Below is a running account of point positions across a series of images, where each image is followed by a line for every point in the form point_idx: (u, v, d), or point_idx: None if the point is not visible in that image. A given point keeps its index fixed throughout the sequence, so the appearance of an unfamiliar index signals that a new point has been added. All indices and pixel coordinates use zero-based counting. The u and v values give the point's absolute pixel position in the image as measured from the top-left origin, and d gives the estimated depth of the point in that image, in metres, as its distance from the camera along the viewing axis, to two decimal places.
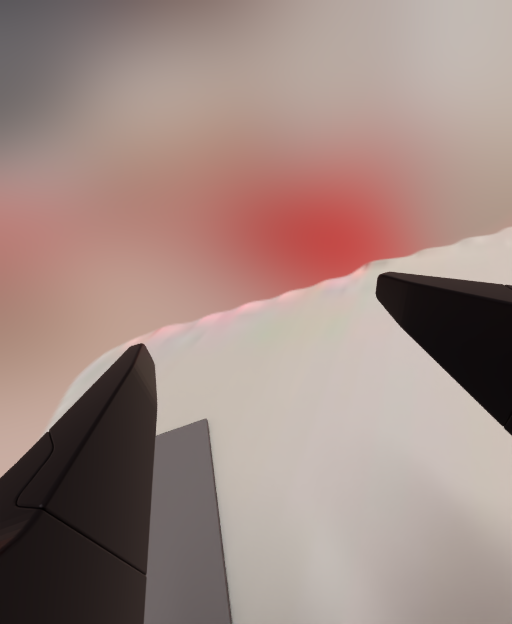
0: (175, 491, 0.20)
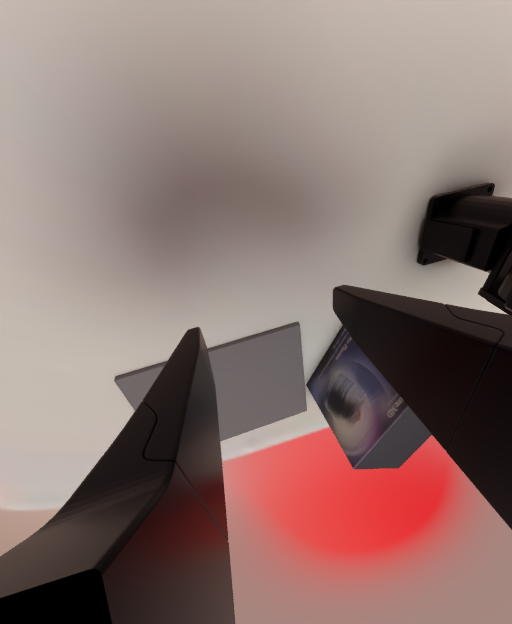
0: None
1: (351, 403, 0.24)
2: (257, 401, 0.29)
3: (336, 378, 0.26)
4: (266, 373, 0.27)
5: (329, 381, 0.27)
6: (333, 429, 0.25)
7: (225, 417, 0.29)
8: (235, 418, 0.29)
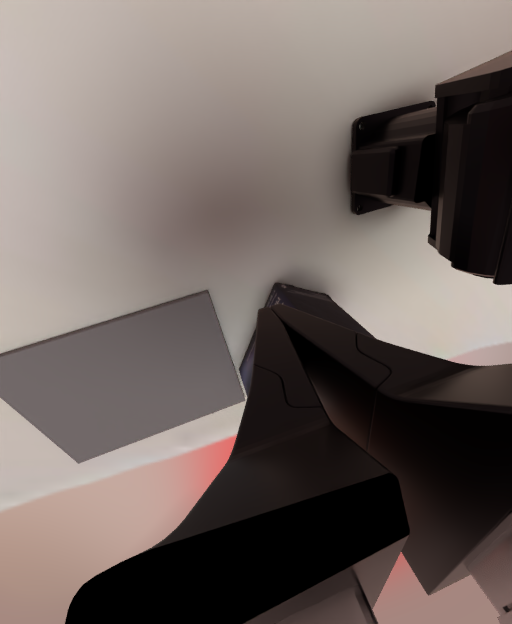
0: (71, 370, 0.20)
1: None
2: (176, 390, 0.24)
3: None
4: (180, 356, 0.23)
5: None
6: None
7: (139, 411, 0.24)
8: (153, 411, 0.25)
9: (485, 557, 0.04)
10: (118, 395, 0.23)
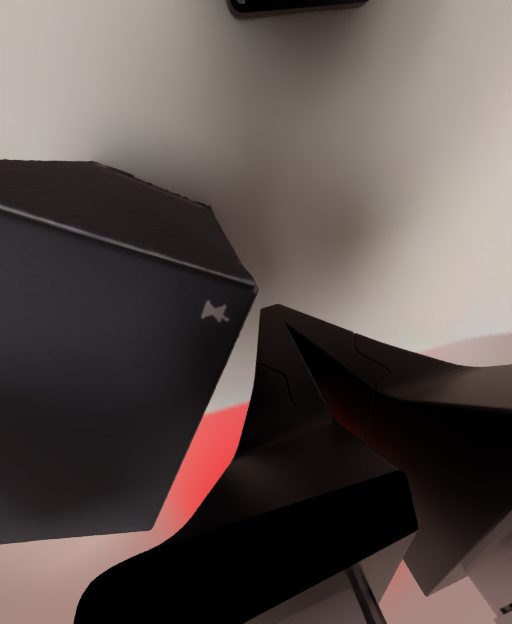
0: None
1: None
2: None
3: None
4: None
5: None
6: None
7: None
8: None
9: (482, 559, 0.04)
10: None
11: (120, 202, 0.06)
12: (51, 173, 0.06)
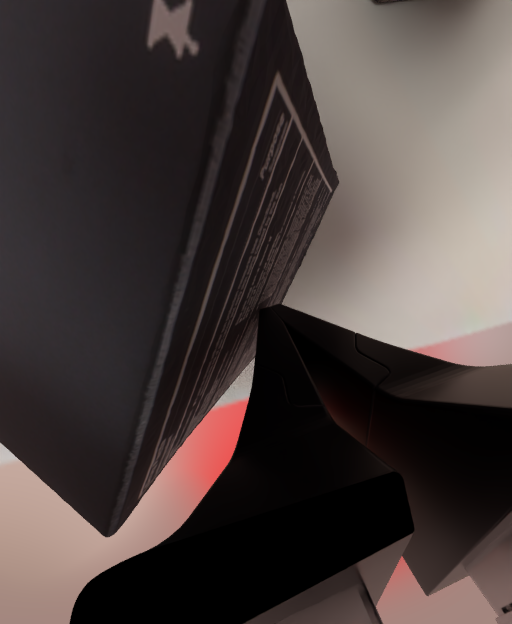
0: None
1: None
2: None
3: None
4: None
5: None
6: None
7: None
8: None
9: (484, 558, 0.04)
10: None
11: None
12: None
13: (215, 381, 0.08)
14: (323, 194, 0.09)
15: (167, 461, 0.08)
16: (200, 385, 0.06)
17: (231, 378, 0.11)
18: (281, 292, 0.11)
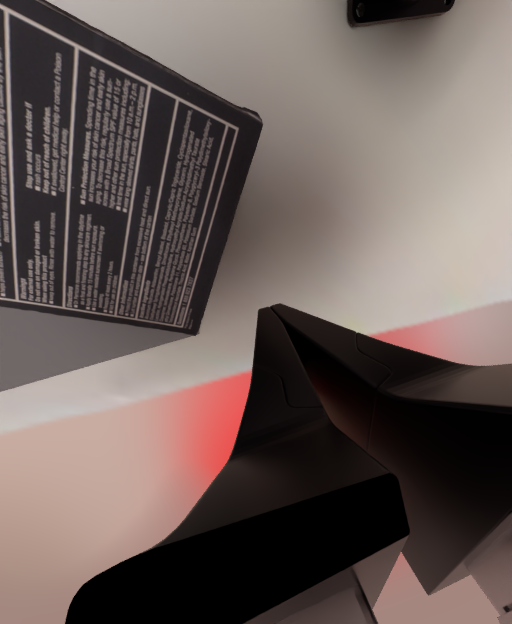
0: None
1: None
2: None
3: None
4: None
5: None
6: None
7: (41, 329, 0.17)
8: (64, 333, 0.18)
9: (485, 557, 0.04)
10: None
11: None
12: None
13: (37, 252, 0.10)
14: (196, 120, 0.09)
15: None
16: None
17: (108, 303, 0.11)
18: (178, 237, 0.11)
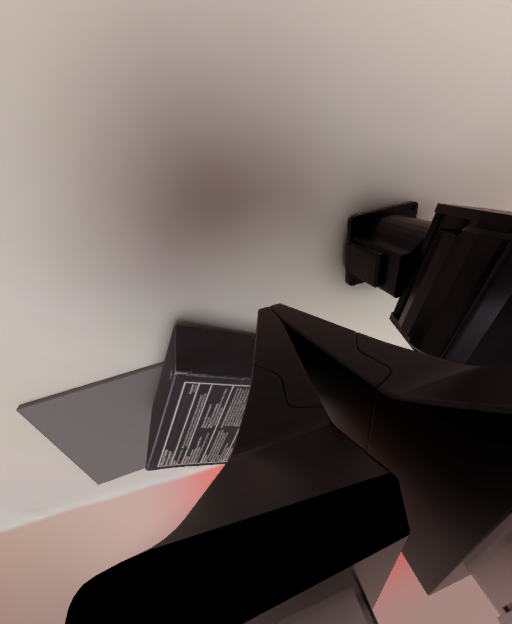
0: (101, 410, 0.24)
1: None
2: None
3: None
4: None
5: None
6: None
7: None
8: None
9: (485, 557, 0.04)
10: (138, 429, 0.26)
11: (211, 347, 0.20)
12: (216, 336, 0.21)
13: (197, 446, 0.20)
14: None
15: (173, 465, 0.20)
16: (183, 440, 0.19)
17: (221, 457, 0.22)
18: None
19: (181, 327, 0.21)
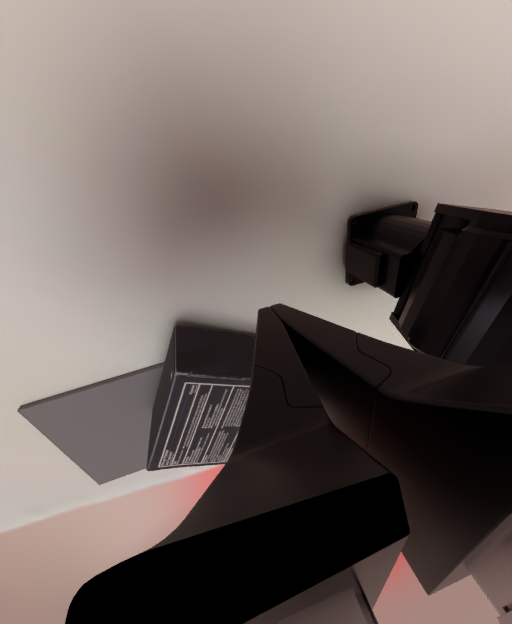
0: (102, 411, 0.24)
1: None
2: None
3: None
4: None
5: None
6: None
7: None
8: None
9: (485, 557, 0.04)
10: (139, 429, 0.26)
11: (212, 347, 0.20)
12: (216, 336, 0.21)
13: (197, 447, 0.20)
14: None
15: (173, 466, 0.21)
16: (184, 441, 0.19)
17: (221, 457, 0.22)
18: None
19: (181, 328, 0.21)
